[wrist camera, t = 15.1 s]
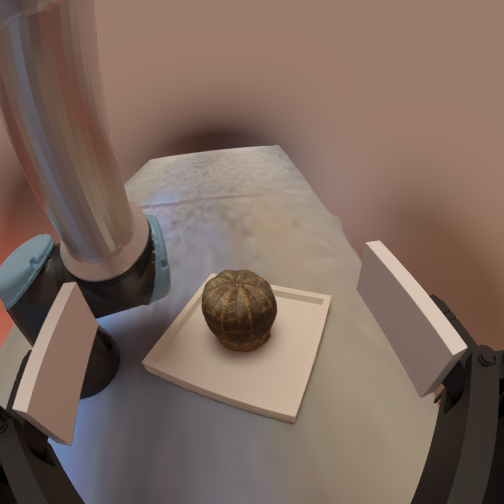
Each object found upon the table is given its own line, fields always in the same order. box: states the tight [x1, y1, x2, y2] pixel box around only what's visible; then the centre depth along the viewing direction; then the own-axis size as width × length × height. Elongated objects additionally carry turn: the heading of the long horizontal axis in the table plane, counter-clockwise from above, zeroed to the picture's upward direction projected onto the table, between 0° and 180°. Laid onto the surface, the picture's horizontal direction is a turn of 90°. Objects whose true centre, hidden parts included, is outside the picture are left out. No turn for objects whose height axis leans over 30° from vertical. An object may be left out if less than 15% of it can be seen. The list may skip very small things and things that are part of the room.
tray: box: [142, 273, 331, 424], centre depth 44 cm, size 24×24×2 cm
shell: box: [201, 270, 277, 352], centre depth 41 cm, size 11×11×12 cm
